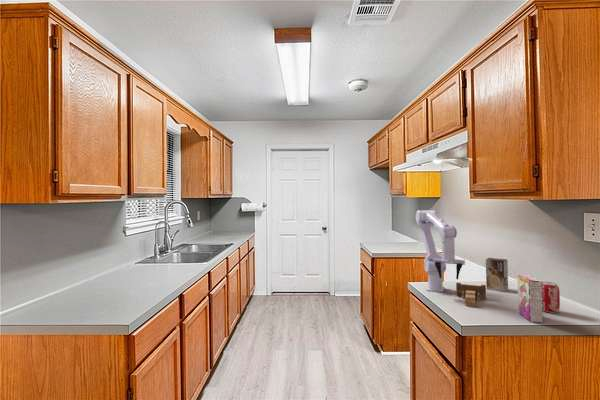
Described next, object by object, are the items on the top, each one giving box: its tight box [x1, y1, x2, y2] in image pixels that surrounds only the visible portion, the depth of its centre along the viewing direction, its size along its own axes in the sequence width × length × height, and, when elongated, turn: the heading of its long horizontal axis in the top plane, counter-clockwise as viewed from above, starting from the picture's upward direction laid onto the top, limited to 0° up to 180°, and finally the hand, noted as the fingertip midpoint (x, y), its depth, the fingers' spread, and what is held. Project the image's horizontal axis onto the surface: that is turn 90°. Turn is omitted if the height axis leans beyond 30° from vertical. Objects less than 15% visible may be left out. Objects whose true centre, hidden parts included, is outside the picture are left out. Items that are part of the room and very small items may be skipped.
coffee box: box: [485, 257, 509, 293], centre depth 184 cm, size 9×6×16 cm
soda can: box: [542, 281, 561, 314], centre depth 148 cm, size 7×7×12 cm
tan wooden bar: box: [464, 290, 477, 308], centre depth 163 cm, size 14×4×4 cm, turn 152°
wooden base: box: [455, 282, 487, 301], centre depth 169 cm, size 5×13×6 cm, turn 61°
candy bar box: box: [517, 274, 544, 324], centre depth 140 cm, size 11×5×16 cm, turn 168°
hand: (448, 278), depth 171 cm, fingers open, 7 cm apart
